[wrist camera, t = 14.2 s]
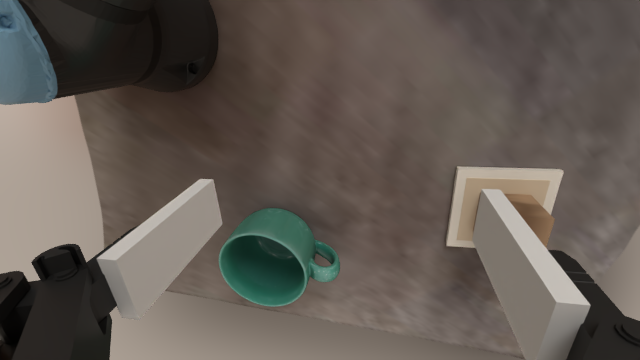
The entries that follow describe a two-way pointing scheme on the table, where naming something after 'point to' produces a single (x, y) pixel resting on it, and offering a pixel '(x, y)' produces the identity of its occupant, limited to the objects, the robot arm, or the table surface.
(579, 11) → the table surface
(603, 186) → the table surface
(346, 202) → the table surface
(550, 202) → the coaster
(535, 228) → the walnut cube
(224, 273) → the mug
